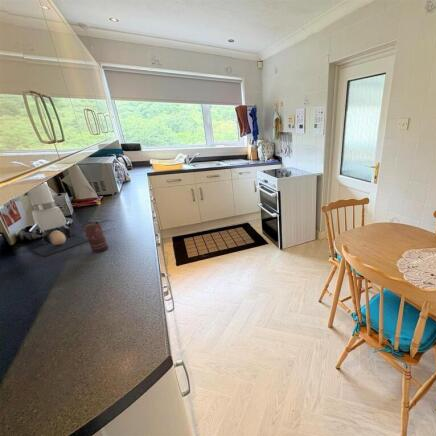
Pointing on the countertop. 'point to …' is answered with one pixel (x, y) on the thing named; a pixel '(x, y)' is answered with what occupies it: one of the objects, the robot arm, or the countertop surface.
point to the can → (95, 237)
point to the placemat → (58, 246)
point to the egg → (57, 237)
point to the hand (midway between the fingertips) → (58, 239)
